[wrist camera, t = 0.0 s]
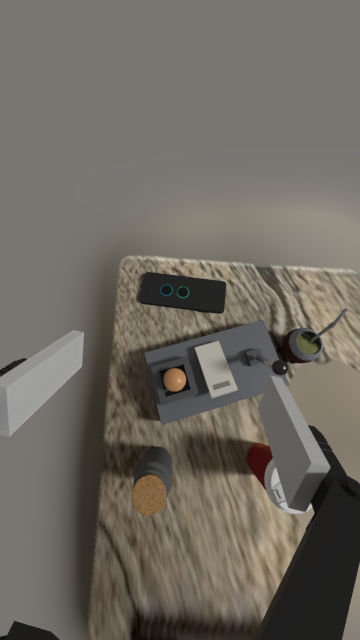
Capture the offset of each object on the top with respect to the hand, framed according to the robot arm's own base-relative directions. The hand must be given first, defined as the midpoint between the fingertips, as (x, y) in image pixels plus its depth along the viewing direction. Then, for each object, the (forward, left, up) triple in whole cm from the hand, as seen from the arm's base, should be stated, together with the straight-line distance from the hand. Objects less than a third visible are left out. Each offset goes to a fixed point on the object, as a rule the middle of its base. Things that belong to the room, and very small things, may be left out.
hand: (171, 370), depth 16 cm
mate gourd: (+1, -28, -36) cm, 46 cm away
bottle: (-13, +7, -36) cm, 39 cm away
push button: (+1, 0, -29) cm, 29 cm away
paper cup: (-18, -13, -36) cm, 42 cm away
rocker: (+1, -8, -29) cm, 30 cm away
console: (+1, -9, -36) cm, 37 cm away
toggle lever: (+1, -17, -29) cm, 34 cm away
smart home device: (+20, -8, -37) cm, 42 cm away
